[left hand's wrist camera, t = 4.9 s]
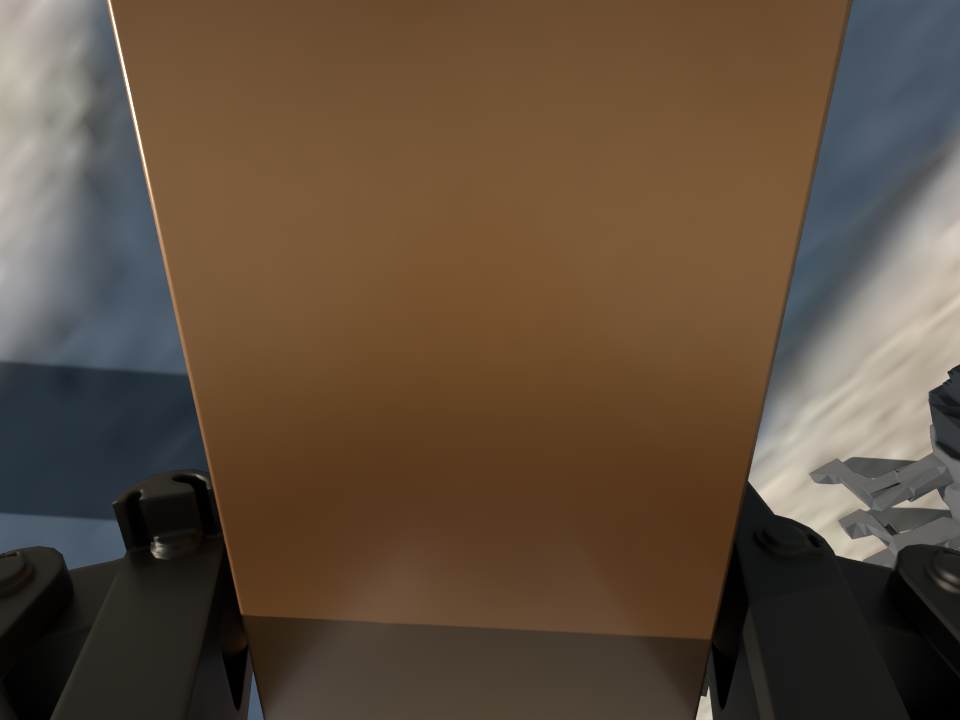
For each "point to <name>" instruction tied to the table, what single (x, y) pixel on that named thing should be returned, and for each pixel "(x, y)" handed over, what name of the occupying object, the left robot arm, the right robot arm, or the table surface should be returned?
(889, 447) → the table surface
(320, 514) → the bar
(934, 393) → the toy
